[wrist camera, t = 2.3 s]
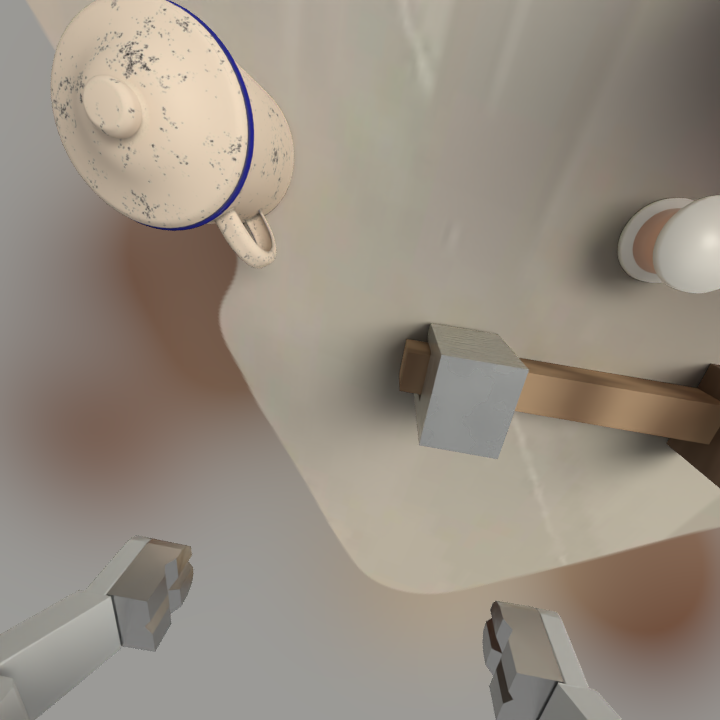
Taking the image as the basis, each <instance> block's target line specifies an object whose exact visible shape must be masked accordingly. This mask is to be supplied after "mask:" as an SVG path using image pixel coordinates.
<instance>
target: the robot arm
mask: <svg viewBox="0 0 720 720" xmlns="http://www.w3.org/2000/svg"><path fill="white" fill-rule="evenodd" d="M191 556H192V552H191V546H187V545H182V544H177V543H172V542H167V541H162V540H157V539H153V538H148V537H143V536H137V535H136V536H134V537H133V538H131V539H130V540H128V541H127V542H126V544H125V545H124V546H123V547H122V548H121V549H120V551H119V552H118V553H117V554H116V555H115V556H114V557H113V559H112V560H111V561H110V562H109V563H108V564H107V566H106V567H105V568H104V569H103V570H102V571H101V573H100V574H99V575H98V576H97V577H96V578H95V579H94V581H93V582H92V583H91V584H90V585H89V586H88V588H87V589H86V590H85V591H82V590H78V591H77V592H75V593H73V594H71V595H69V596H67V597H66V598H64V599H62V600H60V601H59V602H57V603H55V604H53V605H51V606H50V607H48V608H46V609H44V610H43V611H41V612H39V613H37V614H35V615H34V616H32V617H30V618H28V619H26V620H25V621H23V622H21V623H19V624H18V625H16V626H14V627H12V628H10V629H9V630H7V631H5V632H3V633H2V634H0V720H35V719H36V718H38V717H39V716H40V715H41V714H42V713H44V712H45V711H46V710H47V709H49V708H50V707H51V706H52V705H54V704H55V703H56V702H57V701H59V700H60V699H61V698H62V697H63V696H65V695H66V694H67V693H68V692H69V691H71V690H72V689H73V688H74V687H76V686H77V685H78V684H79V683H80V682H82V681H83V680H84V679H85V678H86V677H88V676H89V675H90V674H91V673H93V672H94V671H95V670H96V669H97V668H99V667H100V666H101V665H102V664H103V663H105V662H106V661H107V660H108V659H109V658H111V657H112V656H113V655H114V654H116V653H117V652H118V651H119V650H120V649H121V646H123V647H129V648H135V649H141V650H148V651H156V649H157V647H158V646H159V644H160V642H161V641H162V639H163V637H164V635H165V634H166V632H167V630H168V629H169V627H170V625H171V613H172V612H174V611H175V610H177V609H178V608H179V607H181V606H182V604H183V602H184V600H185V599H186V597H187V595H188V592H189V590H190V587H191V584H192V580H193V567H192V565H191V564H190V563H189V562H188V561H189V559H190V558H191ZM490 611H491V615H492V618H491V619H490V620H488V621H486V624H485V627H484V631H483V653H484V659H485V664H486V666H487V667H488V669H489V670H490V672H491V673H492V675H493V678H492V681H491V683H490V686H489V687H490V692H491V697H492V702H493V707H494V713H495V718H496V720H622V719H621V718H620V717H619V715H618V714H617V713H616V712H615V711H614V710H613V709H612V708H611V706H610V705H609V704H608V703H607V702H606V701H605V700H604V698H603V697H602V696H601V695H600V694H599V693H598V692H597V691H596V690H594V689H590V688H589V686H588V684H587V681H586V679H585V676H584V674H583V672H582V669H581V667H580V664H579V661H578V659H577V657H576V654H575V652H574V649H573V647H572V645H571V642H570V639H569V637H568V634H567V632H566V629H565V627H564V624H563V622H562V619H561V617H560V616H559V615H558V613H557V612H555V611H551V610H545V609H539V608H534V607H530V606H525V605H519V604H513V603H506V602H500V601H495V602H494V603H493V604H492V607H491V609H490Z"/></svg>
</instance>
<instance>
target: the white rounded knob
mask: <svg viewBox="0 0 720 720" xmlns="http://www.w3.org/2000/svg"><path fill="white" fill-rule="evenodd" d="M617 252H618V259H619V262H620V265H621V267H622V268H623V270H624V271H625V272H626V273H627V274H628V275H629V276H631V277H633V278H635V279H637V280H641V281H645V282H650V283H661V282H663V283H665V284H666V285H667V286H669V287H671V288H673V289H676V290H680V291H684V292H688V293H706V292H711V291H715V290H718V289H720V195H713V196H708V197H704V198H701V199H698V200H696V201H694V200H692V199H687V198H668V199H662V200H659V201H656V202H653V203H651V204H649V205H647V206H645V207H644V208H642V209H641V210H640V211H638V212H637V213H636V214H635V215H634V216H633V217H632V218H631V219H630V220H629V222H628V223H627V224H626V226H625V227H624V229H623V231H622V233H621V235H620V238H619V242H618V250H617Z"/></svg>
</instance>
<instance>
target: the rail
mask: <svg viewBox="0 0 720 720" xmlns="http://www.w3.org/2000/svg"><path fill="white" fill-rule="evenodd" d="M430 355H431V350H430V347H429V343H428V342H422V341H416V340H410V339H406V344H405V348H404V353H403V358H402V363H401V368H400V373H399V387H400V391H404V392H409V393H415V394H421V393H422V389H423V385H424V381H425V376H426V372H427V368H428V364H429V359H430ZM519 359H520V360H521V361H522V362H523V363H524V365H525V366H526V367H527V368H528V369H529V371H528V374H527V377H526V380H525V383H524V386H523V389H522V391H521V394H520V397H519V400H518V403H517V406H516V408H515V411H519V412H524V413H530V414H536V415H542V416H547V417H553V418H559V419H565V420H570V421H576V422H582V423H588V424H593V425H599V426H605V427H611V428H616V429H622V430H628V431H634V432H639V433H645V434H651V435H657V436H662V437H668V438H669V440H668V442H667V445H669V446H670V447H671V448H672V449H673V450H675V451H676V452H677V453H678V454H679V455H681V456H682V457H683V458H684V459H685V460H687V461H688V462H689V463H690V464H691V465H693V466H694V467H695V468H696V469H697V470H699V471H700V472H701V473H702V474H703V475H705V476H706V477H707V478H708V479H709V480H711V481H712V482H713V483H714V484H715V485H717V486H718V487H719V488H720V365H715V364H710V366H709V368H708V369H707V371H706V373H705V375H704V377H703V379H702V380H701V382H700V384H699V386H698V388H693V387H687V386H682V385H676V384H670V383H664V382H658V381H652V380H646V379H640V378H634V377H629V376H623V375H617V374H611V373H605V372H599V371H593V370H587V369H581V368H575V367H570V366H564V365H558V364H552V363H546V362H540V361H534V360H528V359H522V358H519Z"/></svg>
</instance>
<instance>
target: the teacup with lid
mask: <svg viewBox="0 0 720 720" xmlns="http://www.w3.org/2000/svg"><path fill="white" fill-rule="evenodd" d="M51 101H52V108H53V113H54V118H55V123H56V126H57V129H58V133H59V135H60V138H61V141H62V143H63V146H64V148H65V150H66V152H67V154H68V156H69V158H70V160H71V162H72V163H73V165H74V167H75V168H76V170H77V171H78V173H79V174H80V175H81V177H82V178H83V179H84V181H85V182H86V183H87V184H88V185H89V187H90V188H91V189H92V190H93V191H94V192H95V193H96V194H97V195H98V196H99V197H100V198H101V199H102V200H103V201H105V202H106V203H107V204H108V205H110V206H111V207H112V208H114V209H115V210H116V211H118V212H120V213H121V214H123V215H125V216H126V217H128V218H130V219H132V220H134V221H136V222H138V223H140V224H143V225H146V226H149V227H152V228H156V229H162V230H172V231H176V230H187V229H192V228H195V227H199V226H202V225H204V224H217V226H218V228H219V229H220V231H221V233H222V234H223V236H224V238H225V239H226V241H227V242H228V244H229V245H230V247H231V248H232V249H233V251H234V252H235V253H236V254H237V255H238V256H239V257H240V258H241V259H242V260H243V261H244V262H245V263H246V264H248V265H249V266H251V267H253V268H263V267H265V266H267V265H269V264H270V263H272V262H273V261H274V259H275V256H276V243H275V239H274V236H273V233H272V231H271V228H270V226H269V224H268V222H267V220H266V218H265V217H264V216H265V215H266V214H268V213H269V212H270V211H271V210H273V209H274V208H275V207H276V206H277V205H278V204H279V202H280V201H281V200H282V198H283V197H284V195H285V193H286V191H287V189H288V187H289V184H290V181H291V178H292V174H293V168H294V147H293V141H292V136H291V132H290V129H289V126H288V123H287V121H286V119H285V117H284V115H283V113H282V111H281V110H280V108H279V106H278V105H277V104H276V102H275V101H274V100H273V98H272V97H271V96H270V95H269V94H268V93H267V92H266V91H265V90H264V89H263V88H262V87H261V86H260V85H259V84H258V83H257V82H256V81H255V80H254V79H253V78H252V77H251V76H250V75H248V74H247V73H246V72H245V71H244V70H243V69H242V68H241V67H240V66H239V65H238V64H237V63H236V62H235V61H234V60H233V58H232V56H231V54H230V53H229V51H228V50H227V49H226V47H225V46H224V44H223V43H222V42H221V40H220V39H219V38H218V37H217V36H216V34H215V33H214V32H213V31H212V30H211V29H210V28H209V27H208V26H207V25H206V24H205V23H204V22H203V21H201V20H200V19H199V18H198V17H197V16H195V15H194V14H192V13H191V12H190V11H188V10H187V9H185V8H183V7H181V6H180V5H178V4H176V3H174V2H171V1H169V0H96V1H94V2H93V3H91V4H89V5H88V6H86V7H85V8H84V9H83V10H81V11H80V12H79V13H78V14H77V15H76V16H75V17H74V18H73V19H72V21H71V22H70V23H69V25H68V26H67V28H66V29H65V31H64V33H63V35H62V36H61V39H60V41H59V43H58V46H57V49H56V52H55V55H54V60H53V65H52V73H51ZM244 222H246V224H247V226H248V227H249V229H250V231H251V233H252V235H253V237H254V240H255V241H254V240H253V239H252V237H251V236H250V235H249V233H248V232H247V230H246V228H245V227H244V225H243V223H244Z"/></svg>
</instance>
